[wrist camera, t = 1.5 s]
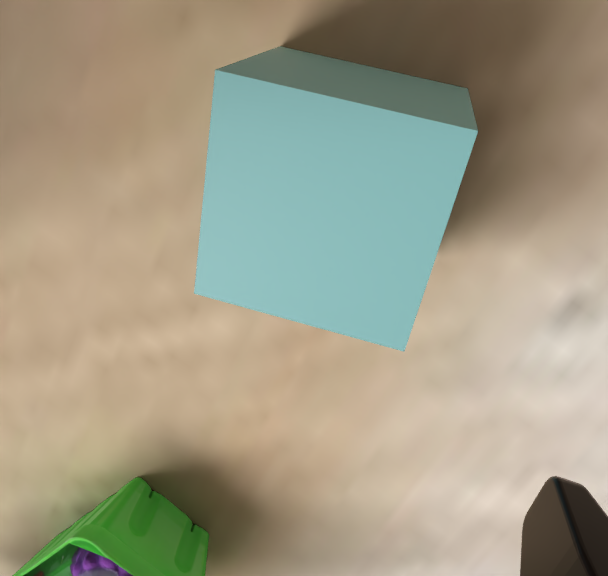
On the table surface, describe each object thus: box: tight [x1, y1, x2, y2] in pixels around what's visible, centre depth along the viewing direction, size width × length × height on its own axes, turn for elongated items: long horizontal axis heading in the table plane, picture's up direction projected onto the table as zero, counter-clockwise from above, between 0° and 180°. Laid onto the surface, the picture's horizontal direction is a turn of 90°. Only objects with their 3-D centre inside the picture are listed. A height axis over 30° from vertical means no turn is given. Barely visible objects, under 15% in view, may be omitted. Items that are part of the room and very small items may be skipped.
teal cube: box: [194, 46, 478, 351], centre depth 16 cm, size 6×6×6 cm
